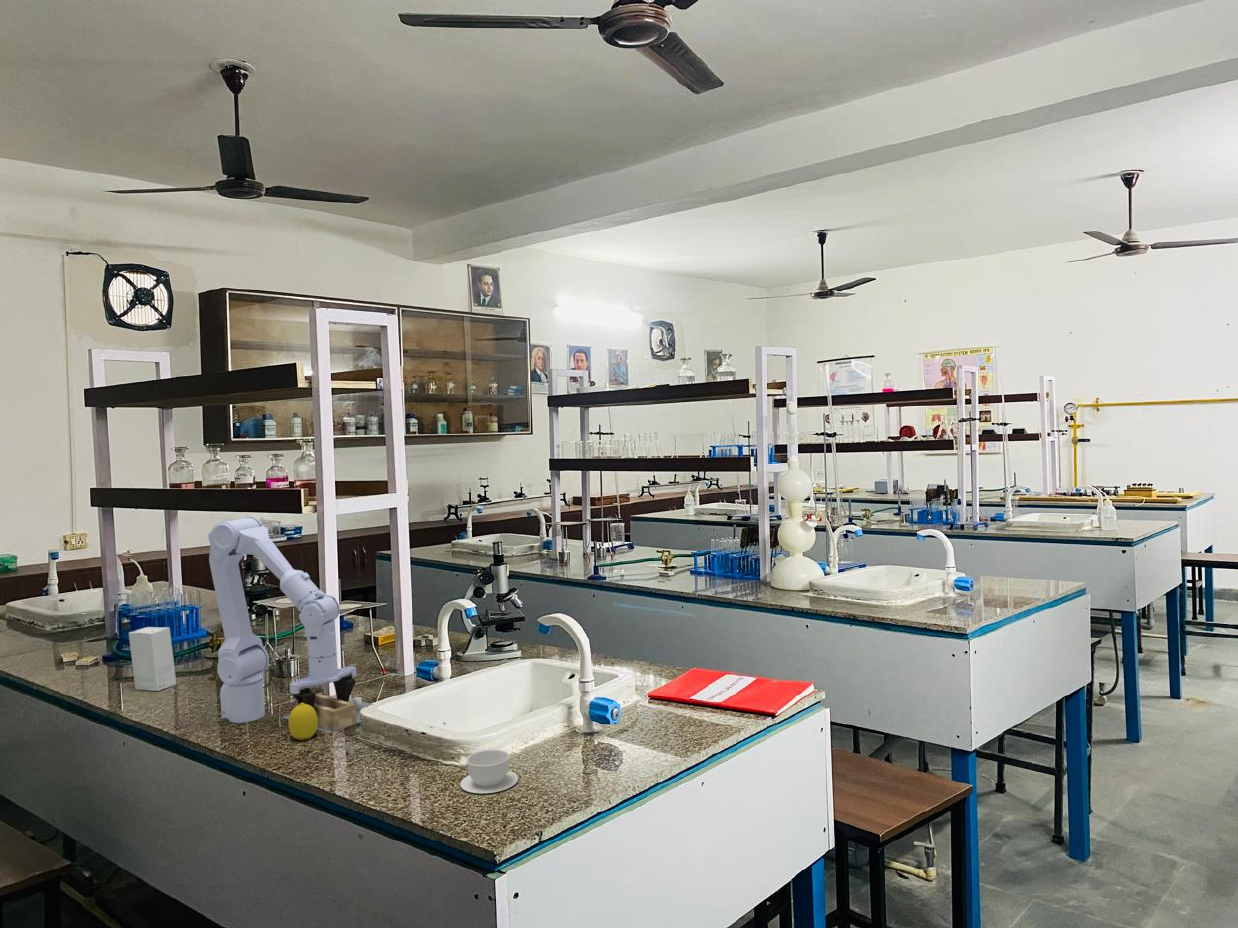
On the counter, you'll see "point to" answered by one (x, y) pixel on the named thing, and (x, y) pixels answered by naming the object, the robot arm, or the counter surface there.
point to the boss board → (357, 701)
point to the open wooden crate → (334, 712)
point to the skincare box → (152, 658)
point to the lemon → (303, 722)
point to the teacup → (488, 772)
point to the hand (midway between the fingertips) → (326, 718)
